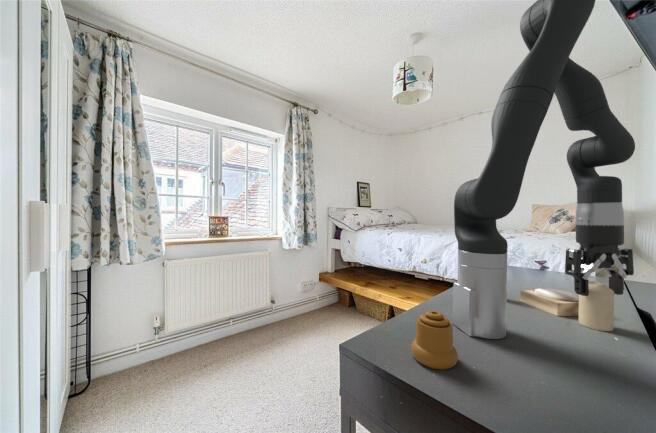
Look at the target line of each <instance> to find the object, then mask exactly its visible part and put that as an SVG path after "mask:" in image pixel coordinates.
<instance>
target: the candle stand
mask: <svg viewBox="0 0 656 433" xmlns="http://www.w3.org/2000/svg"><path fill="white" fill-rule="evenodd" d="M519 299H520V302H522V303H524V304H526V305H528V306H532V307H533V308H536V309H538V310H541V311H543V312H546V313H548V314H552V315H554V316H557V317H567V316H568V317H570V316H573V317H574V316H575V317H577V316H578V317H579V294H577V293H573V292H568V291H564V290H561V289H554V288H553V289H552V288H539V287H538V288H535V289H533V290H532V289H530V290H529V289H527V290H525V289H524V290H523V289H522V290H520V298H519Z"/></svg>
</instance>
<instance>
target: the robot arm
mask: <svg viewBox="0 0 656 433" xmlns="http://www.w3.org/2000/svg"><path fill="white" fill-rule="evenodd" d="M595 4H596V0H536V1H535V2H534V3H533V4H532V5H530V7H528V8H527V9H526V10H525V11H524V13H523V14H522V16H521V19H520V21H519V22H520V23H519V32H520V34H521V37H522V40H523V43H524V44H525V46H526V48H527V50H528V51H529V52H528V53H527V55H526V56H525V57H524V59H523V60H522V61H521V63H520V64H519V65H518V66H517V68H516V69H515V70H514V72H513V73H512V75H511V76H510V77H509V79H508V80H507V82H506V84H504V87H503V89H502V91H501V93H500V95H499V97H498V100H497V103H496V105H495V108H494V111H493V113H492V117H491V139H492V140H491V141H492V142H491V149H490V152H489V156H488V158H487V160H486V163H485V166H484V168H482V171H481V173H480V175H479V176H478V178H474V179H470V180H468V181H465V182H464V183H462V184H461V185H460V186H459V187H458V188H457V190H456V191H455V195H454V201H453V217H454V218H453V220H454V236H455V238H456V241H457V281H455V282H454V283H453V285H452V286H453V288H452V289H453V292H452V293H453V294H452V295H453V296H452V297H453V298H452V301H453V302H452V303H453V304H452V325H454V326H455V327H456V328H458V329H460V330H461V331H462V332H463V333H465V334H466V335H468V337H477V338H481V339H482V338H483V339H487V340H500V339H504V338H505V337H506V336H507V312H508V311H507V306H508V305H507V304H508V303H507V301H508V300H507V299H508V298H507V296H508V295H507V294H508V292H507V290H508V249H509V248H508V240H507V239H506V238H505V237H504V236H503V235H502V234H501V233H500V231H499V230H498V228H497V220H500V219H503V218H505V217H507V216H508V215H509V214H511V212H513V210H514V208H515V206H516V204H517V203H518V199H519V196H520V192H521V189H522V184H523V180H524V176H525V172H526V169H527V165H528V162H529V159H530V157H531V156H530V155H531V153H532V151H533V148H534V146H535V143H536V140H537V137H538V134H539V131H540V130H541V126H543V122H544V120H545V117H546V116H547V113H548V111H549V108H550V106H551V103H552V100H553V98H554V95H555V96H556V99H557V102H558V105H559V108H560V111H561V114H562V117H563V120H564V123H565V125H566V127H567V129H568V130H569V131H571V132H578V131H588V132H590V133H592V134H594V135H593V136H590V137H585V138H582V139H579V140H576V141H575V142H574V141H573V143H572V144H571V145H569V147H568V149H567V152H566V161H567V164H568V167H569V170H570V171H571V174H572V177H573V180H574V182H575V185H576V210H575V242H576V243H577V244H579V245H580V246H579V249H576V248H575V249H574V248H567V249H566V250H565V261H564V262H565V263H564V273H565V274H566V275H568V276H571V277H573V278H574V280H573V281H574V284H573V285H574V286H573V287H574V288H573V289H574V292H575V294H576V295H578V296H579V295H582V296H588V295H589V282H590V281H589V280H590V279H589V278H590V276H591V274H592V273H595V272H596V271H597V270H598V269H604V270H605V271H606V272H607V274H609V276H608V288H610V289H611V290H613V291H614V295H618V296H619V295H620V296H621V295H624V290H625V287H624V286H625V285H624V284H625V283H624V282H625V280H624V279H626V278H627V276H633V275H634V273H635V271H634V270H635V268H634V253H633V249H631V248H626V247H625V248H623V247H619V246H623V245H624V244H625V211H624V206H623V184H622V180H621V178H619V177H617V176H613V175H612V176H611V175H610V176H609V175H599V173H598V172H597V171H596V168H598V167H605V166H612V165H617V164H618V165H619V164H621V163H625V162H627V161H628V160H630V158H632V156H633V155H634V152H635V151H636V143H635V140H634V137H633V136H632V134H631V133H630V132H629V131H628V130H627V128H626V127H625V126H624V125H623V124H622V123H621V121H620V120H619V119H618V118H617V117H616V115H615V114H614V112H612V110H611V109H610V106H609V102H608V99H607V96H606V93H605V90H604V87H603V84H602V83H601V82H600V80H599V78H597V76H595V74H593V73H592V72H591V71H589V70H588V69H586V68H584V67H583V66H581V65H580V64H579V63H577V62H575V61H574V60H573V59H572V58H570V55H571V54H572V51H573V49H574V47H575V45H576V43H577V41H578V39H579V37H580V36H581V34H582V31H584V29H585V26H586V25H587V23H588V21H589V19H590V17H591V15H592V13H593V10H594V7H595ZM624 265H625V267H624Z"/></svg>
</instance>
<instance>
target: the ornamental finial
mask: <svg viewBox="0 0 656 433" xmlns="http://www.w3.org/2000/svg"><path fill="white" fill-rule="evenodd" d="M415 328H416V330H415V339H413V341H412V343H411V349H410V350H411V354H412V356H413V357H414V358H415V360H416V361H417V362H419V364H421V365H423V366H425V367H427V368H431V369H435V370H448V369H452V368H453V367H455V366H456V364H457V363H458V361H459V354H458V351H457V349H456V347H455V346H454V333H453V330H454V329H453V322H451V321H450V319H449V318H448V317H447V316H445V315H444V314H443V313H442V312H440V311H437V310H431V309H430V310H427V311H426V312H425V313H421V314H420V316H418V317H417V318H416V327H415Z"/></svg>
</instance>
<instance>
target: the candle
mask: <svg viewBox="0 0 656 433" xmlns="http://www.w3.org/2000/svg"><path fill="white" fill-rule="evenodd" d="M578 296H579V316H578V323H579V325H581V326H583V327H586V328H589V329H593V330H596V331H602V332H613V331H614V326H615V325H614V322H615V318H614V316H615V315H614V314H615V294H614V291H613V290H611V289H610V288H609V286H607V285H606V284H603V283H599V282H596V281H589V295H588V296H582V295H579V294H578Z"/></svg>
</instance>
